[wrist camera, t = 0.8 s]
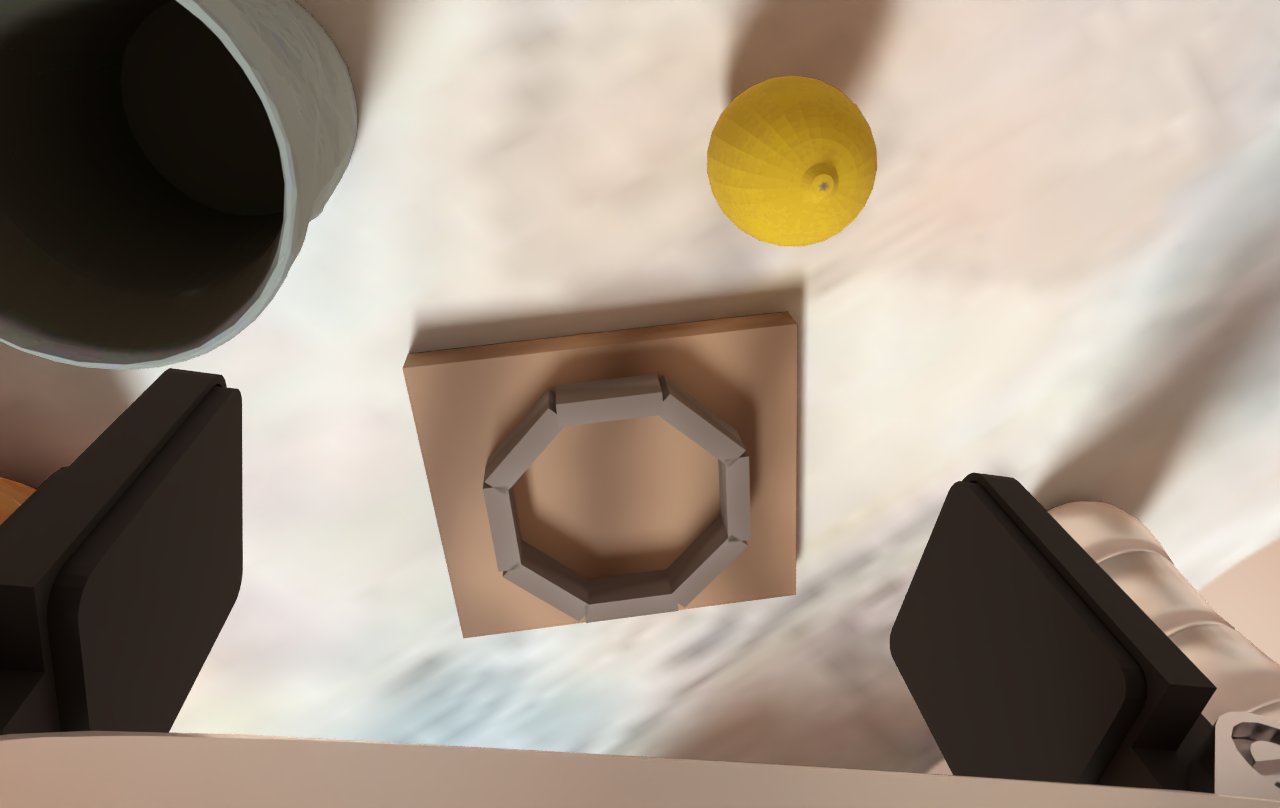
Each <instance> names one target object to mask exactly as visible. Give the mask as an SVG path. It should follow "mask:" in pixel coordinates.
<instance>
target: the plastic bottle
mask: <svg viewBox="0 0 1280 808" xmlns="http://www.w3.org/2000/svg"><path fill="white" fill-rule="evenodd" d="M1047 512H1048V513H1049V514H1050V515H1051V516H1052V517H1053V518H1054V519H1055V520H1056V521H1057V522H1058V523H1059V524H1060V525H1061V526H1062V527H1063V528H1064V529H1065V530H1066V531H1067V532H1068V534H1069V535H1070V536H1071V537H1072V538H1073V539H1074V540H1075V541H1076V542H1077V543H1078V544H1079V545H1080V546H1081V547H1082V548H1083V549H1084V550H1085V551H1086V552H1087V553H1088V554H1089V555H1090V556H1091V557H1092V558H1093V559H1094V561H1095V562H1096V563H1097V564H1098V565H1099V566H1100V567H1101V568H1102V569H1103V570H1104V571H1105V572H1106V573H1107V574H1108V575H1109V576H1110V577H1111V578H1112V579H1113V580H1114V581H1115V582H1116V583H1117V584H1118V585H1119V586H1120V588H1121V589H1122V590H1123V591H1124V592H1125V593H1126V594H1127V595H1128V596H1129V597H1130V598H1131V599H1132V600H1133V601H1134V602H1135V603H1136V604H1137V605H1138V606H1139V607H1140V608H1141V609H1142V610H1143V611H1144V612H1145V614H1146V615H1147V616H1148V617H1149V618H1150V619H1151V620H1152V621H1153V622H1154V623H1155V624H1156V625H1157V626H1158V627H1159V628H1160V629H1161V630H1162V631H1163V632H1164V633H1165V634H1166V635H1167V636H1168V637H1169V638H1170V639H1171V641H1172V642H1173V643H1174V644H1175V645H1176V646H1177V647H1178V648H1179V649H1180V650H1181V651H1182V652H1183V653H1184V654H1185V655H1186V656H1187V657H1188V658H1189V659H1190V660H1191V661H1192V662H1193V663H1194V664H1195V665H1196V666H1197V668H1198V669H1199V670H1200V671H1201V672H1202V673H1203V674H1204V675H1205V676H1206V677H1207V678H1208V679H1209V680H1210V681H1211V682H1212V683H1213V684H1214V685H1215V686H1216V687H1217V689H1216V691H1215V692H1214V694H1213V696H1212V697H1211V699H1210V700H1209V702H1208V703H1207V705H1206V706H1205V708H1204V709H1203V711H1202V715H1203V716H1204V717H1205V718H1206V719H1207V720H1208V721H1209V722H1210V723H1211V724H1212V726H1213V725H1214V723H1215V722H1216V720H1217V719H1218V717H1219V716H1221V715H1223V714H1225V713H1228V712H1248V713H1253V714H1257V715H1261V716H1265V717H1268V718H1270V719H1272V720H1275V721H1277V722H1280V665H1279V664H1277V663H1276V662H1275V661H1273V660H1272V659H1271V658H1269V657H1268V656H1267V655H1265V654H1264V653H1263V652H1262V651H1261V650H1260V649H1258V648H1257V647H1256V646H1255V645H1254V644H1253V643H1251V642H1250V641H1249V640H1248V639H1246V638H1245V637H1244V636H1243V635H1242V634H1241V633H1239V632H1238V631H1236V630H1235V628H1234V627H1232V626H1231V625H1230V624H1229V623H1228V622H1226V621H1225V620H1224V619H1223V618H1222V617H1220V616H1219V615H1218V614H1217V613H1216V612H1215V611H1214V610H1213V608H1212V607H1211V606H1210V605H1209V604H1208V603H1207V602H1206V601H1205V600H1204V598H1203V597H1202V596H1201V595H1200V594H1199V593H1198V592H1197V591H1196V589H1195V588H1194V587H1193V586H1192V585H1191V584H1190V583H1189V582H1188V580H1187V579H1186V578H1185V577H1184V576H1183V575H1182V574H1181V573H1180V571H1179V570H1178V569H1177V568H1176V567H1175V566H1174V564H1173V562H1172V561H1171V559H1170V558H1169V556H1168V555H1167V553H1166V552H1165V550H1164V548H1163V547H1162V545H1161V544H1160V543H1159V542H1158V540H1157V539H1156V538H1155V537H1154V535H1153V534H1152V533H1151V532H1150V530H1149V529H1148V528H1147V527H1146V526H1145V525H1144V524H1143V523H1142V522H1140V521H1139V520H1138V519H1136V518H1134V517H1133V516H1131V515H1129V514H1128V513H1126V512H1124V511H1123V510H1121V509H1119V508H1117V507H1115V506H1113V505H1111V504H1107V503H1103V502H1087V501H1077V502H1071V503H1066V504H1063V505H1060V506H1057V507H1055V508H1053V509H1051V510H1049V511H1047Z"/></svg>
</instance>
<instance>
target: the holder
mask: <svg viewBox="0 0 1280 808" xmlns="http://www.w3.org/2000/svg"><path fill="white" fill-rule="evenodd" d="M403 372H404V377H405V381H406V385H407V390H408V394H409V399H410V403H411V408H412V412H413V416H414V421H415V425H416V430H417V434H418V439H419V443H420V448H421V452H422V456H423V461H424V465H425V470H426V474H427V479H428V483H429V488H430V492H431V496H432V501H433V505H434V510H435V514H436V519H437V523H438V527H439V532H440V536H441V541H442V545H443V550H444V554H445V559H446V563H447V567H448V572H449V576H450V581H451V585H452V590H453V594H454V599H455V603H456V607H457V612H458V616H459V621H460V625H461V630H462V634H463V638H469V637H477V636H484V635H492V634H499V633H507V632H515V631H522V630H530V629H538V628H545V627H553V626H560V625H568V624H576V623H583V622H586V623H589V622H596V621H604V620H612V619H619V618H627V617H635V616H642V615H650V614H657V613H665V612H673V611H678V610H683V609H690V608H698V607H705V606H713V605H721V604H728V603H736V602H744V601H751V600H759V599H767V598H774V597H782V596H789V595H796V443H797V323H796V322H795V320H794V319H793V318H792V317H791V315H790V314H789V313H788V312H779V313H770V314H761V315H752V316H743V317H734V318H725V319H716V320H707V321H698V322H689V323H680V324H671V325H662V326H653V327H644V328H635V329H626V330H617V331H608V332H599V333H590V334H581V335H572V336H564V337H555V338H546V339H537V340H528V341H519V342H510V343H501V344H492V345H483V346H474V347H465V348H456V349H447V350H438V351H429V352H420V353H411V354H408V356H407V358H406V361H405V363H404V366H403Z"/></svg>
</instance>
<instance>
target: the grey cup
mask: <svg viewBox="0 0 1280 808" xmlns="http://www.w3.org/2000/svg"><path fill="white" fill-rule="evenodd" d="M357 122H358V114H357V107H356V100H355V95H354V91H353V86H352V82H351V79H350V76H349V74H348V67H347V65H346V64H345V62H344V61H343V59H342V57H341V55H340V53H339V51H338V50H337V48H336V46H335V44H334V43H333V41H332V40H331V39H330V37H329V36H328V34H327V33H326V32H325V30H324V29H323V28H322V27H321V26H320V24H319V23H318V22H317V21H316V20H315V19H314V18H313V17H312V16H311V15H310V14H309V12H308V11H307V10H305V9H304V8H303V7H302V6H301V5H299V4H298V3H297V2H296V1H295V0H0V342H3V343H5V344H7V345H9V346H11V347H13V348H15V349H18V350H20V351H23V352H27V353H30V354H33V355H36V356H39V357H42V358H46V359H49V360H52V361H55V362H60V363H65V364H70V365H76V366H81V367H87V368H101V369H116V370H131V369H143V368H154V367H161V366H166V365H170V364H174V363H178V362H183V361H187V360H189V359H192V358H195V357H198V356H200V355H203V354H206V353H208V352H210V351H212V350H214V349H215V348H217V347H219V346H221V345H222V344H224V343H226V342H228V341H229V340H231V339H232V338H234V337H235V336H236V335H237V334H239V333H240V332H241V331H242V330H244V329H245V328H246V327H247V326H249V325H250V324H251V323H252V322H253V321H255V320H256V318H257V317H258V316H259V315H260V314H261V313H262V311H263V310H264V309H265V308H266V307H267V305H268V304H269V303H270V302H271V301H272V299H273V298H274V296H275V295H276V293H277V291H278V290H279V288H280V287H281V285H282V283H283V282H284V280H285V278H286V277H287V274H288V271H289V269H290V267H291V266H292V264H293V262H294V260H295V259H296V257H297V255H298V254H299V252H300V250H301V247H302V245H303V242H304V240H305V236H306V231H307V227H308V223H309V222H310V221H311V220H313V219H314V218H316V217H317V216H318V215H319V214H320V213H321V212H322V211H323V208H324V206H325V204H326V203H327V201H328V200H329V198H330V197H331V195H332V193H333V192H334V190H335V188H336V186H337V185H338V183H339V181H340V180H341V178H342V176H343V174H344V172H345V170H346V168H347V166H348V164H349V162H350V158H351V154H352V150H353V147H354V143H355V139H356V134H357Z"/></svg>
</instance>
